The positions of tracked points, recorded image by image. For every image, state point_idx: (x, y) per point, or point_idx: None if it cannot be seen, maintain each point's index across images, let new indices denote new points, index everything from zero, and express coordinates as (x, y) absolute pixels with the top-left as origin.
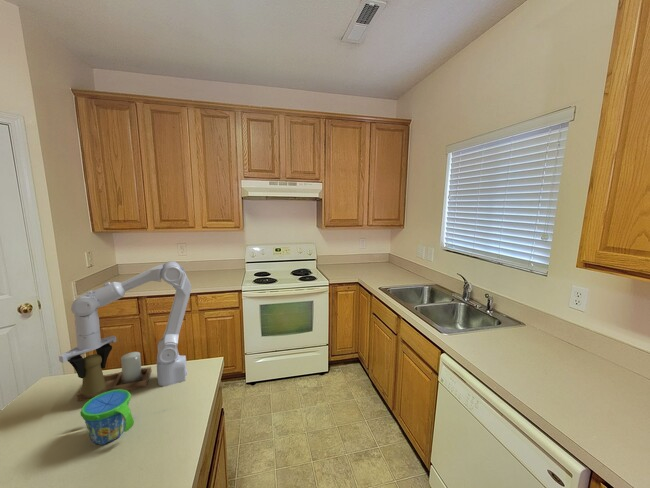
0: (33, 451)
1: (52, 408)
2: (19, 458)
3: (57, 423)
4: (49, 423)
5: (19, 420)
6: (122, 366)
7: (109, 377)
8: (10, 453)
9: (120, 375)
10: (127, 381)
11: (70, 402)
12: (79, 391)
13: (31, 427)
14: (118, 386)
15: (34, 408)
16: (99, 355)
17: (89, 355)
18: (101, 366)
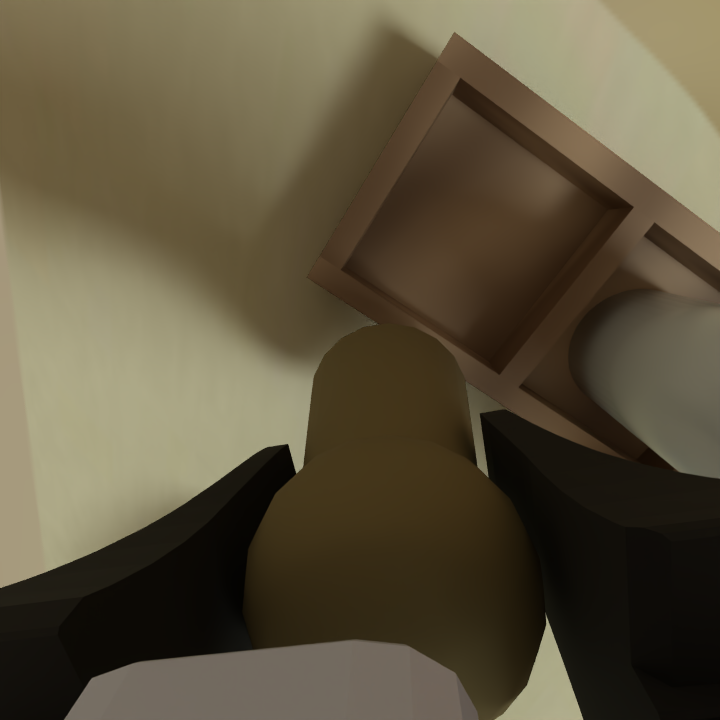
0: (116, 515)
1: (202, 195)
2: (76, 514)
3: (206, 393)
4: (177, 357)
5: (53, 169)
6: (668, 424)
7: (566, 164)
8: (45, 452)
9: (624, 253)
10: (597, 403)
11: (290, 218)
12: (333, 235)
13: (107, 314)
14: (526, 414)
15: (118, 81)
16: (521, 683)
17: (397, 568)
18: (493, 477)
